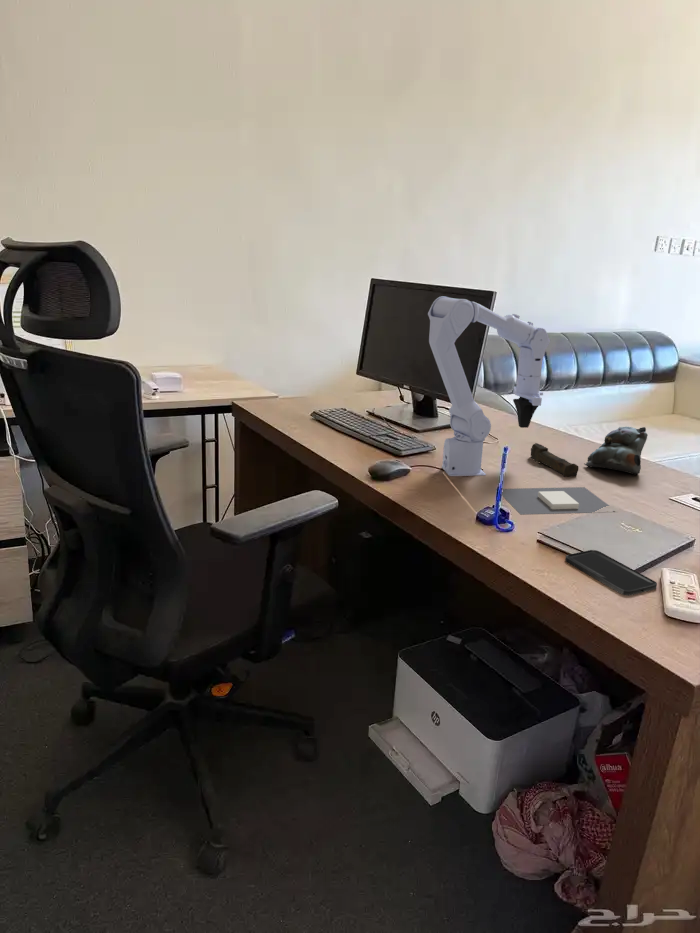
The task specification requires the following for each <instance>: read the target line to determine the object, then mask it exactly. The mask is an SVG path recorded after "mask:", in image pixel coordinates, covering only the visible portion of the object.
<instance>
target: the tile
mask: <svg viewBox="0 0 700 933" xmlns="http://www.w3.org/2000/svg"><path fill="white" fill-rule="evenodd" d="M538 497H539V498H540V499H541V500H542V501H543V502H545V503H546V504H547V505H548V506H549V507H550V508H551V509H578V508H579V503H578V502H576V501H575V500H574V499H573V498H572V497H570V496H569V495H568V494H567V493H565V492H564V491H540V492H538Z"/></svg>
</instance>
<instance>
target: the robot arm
mask: <svg viewBox="0 0 700 933" xmlns="http://www.w3.org/2000/svg"><path fill="white" fill-rule="evenodd" d="M427 316H428V318H429V336H428V343H429V346H430V349H431V351H432V354H433V357H434V360H435V363H436V365H437V369H438V371H439V374H440V376H441V379H442V381H443V385H444V387H445V389H446V390H445V391H446V392H447V396H448V398H449V401H450V404H451V406H450V407H449V409H448V413H449V417H450V418H449V425H450V427H451V429H452V431H453V436H452V437H449V438H445V440H444V443H443V454H442V465H441V468H442V469H443V470H444V472H445V473H446V474H447V475H448V476H449V477H467V476H468V477H469V476H470V477H471V476H473V477H475V476H477V477H478V476H479V477H480V476H487V473H485V472H484V471H483V470H482V460H483V451H484V450H483V449H484V442H485V440H486V438H487V437H488V436H489V434H490V432H491V429H492V428H491V427H492V423H491V420H490V419H489V417H487V416H486V415H485V413H484V411H483V409H482V407H481V406H480V405H479V404H478V403H477V402H476V401H475V400H474V396H473V393H472V389H471V388H470V385H469V382H468V379H467V376H466V374H465V370H464V367H463V365H462V363H461V358H460V357H459V353H458V350H457V347H456V345H455V343H456V341H457V339H458V338H459V337H460V336H461V335H462V333H463V332H464V331H465V329H467V327H468V326H469V325H470V324H471V323H476V322H478V323H481V324H483V325H485V326H488V327H490V328H493V329H496V331H497V332H496V333H497V335H498V336H499V337H500V338H502V339H504V340H506V341H509V342H511V343H513V344H516V346H517V347H518V348H520V349H519V354H518V355H519V356H518V365H517V376H516V377H517V378H516V386H515V385H514V386H513V391H512V393H513V395H515V396H517V397H518V398H513V399H512V401H513V402H512V403H513V404H514V406H515V409H516V413H517V422H518V423H517V425H518V427H520V428H522V429H523V428H529V426H530V424H531V421H532V419H533V416H534V414H535V412H536V410H537V408H538V407H539V406H541V405H542V400H543V399H542V397H541V396H544V392H543V391H541V390H540V385H541V377H542V367H543V360H544V359H543V358H544V356H545V355H546V350H547V348H549V345H550V343H551V339H550V338H549V337H550V336H549V334H548V332H547V331H546V329H545V328H543V327H537V326H534V323H533V322H531V321H525V320H523V319H520V315H518V314H515V313H512V314H506V315H504V316H502V315H500V314H499V313H496V311H495V312H494V311H493V310H491V309H489V308H487V307H486V306H484V305H482V304H480V303H477V302H475V301H470V300H469V299H466V298H453V297H449V296H443V295H442V296H441V295H440V296H439V297H437V298H436V299H434V301H433V302H432V303H431V305H430V308H429V310H428V312H427Z"/></svg>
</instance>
